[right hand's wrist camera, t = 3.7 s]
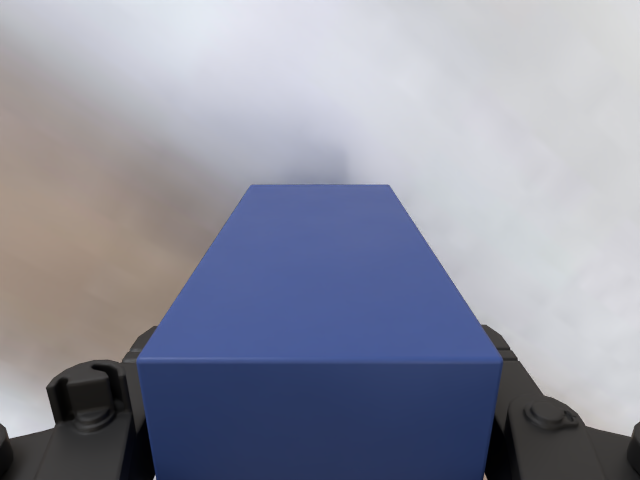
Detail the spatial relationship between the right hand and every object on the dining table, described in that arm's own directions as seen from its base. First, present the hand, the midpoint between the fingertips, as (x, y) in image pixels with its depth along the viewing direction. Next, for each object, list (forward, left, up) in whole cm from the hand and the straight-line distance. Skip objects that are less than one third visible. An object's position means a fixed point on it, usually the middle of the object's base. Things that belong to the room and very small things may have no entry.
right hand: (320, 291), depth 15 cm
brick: (0, 0, -3) cm, 3 cm away
